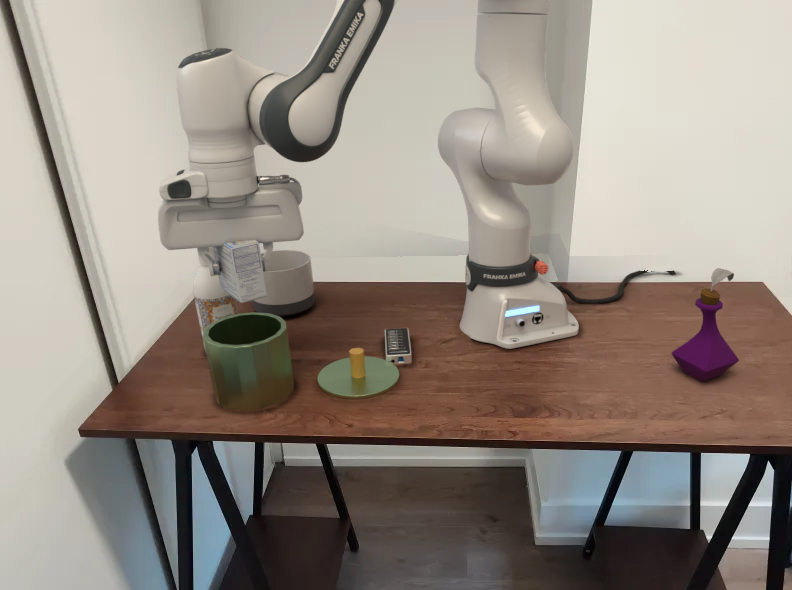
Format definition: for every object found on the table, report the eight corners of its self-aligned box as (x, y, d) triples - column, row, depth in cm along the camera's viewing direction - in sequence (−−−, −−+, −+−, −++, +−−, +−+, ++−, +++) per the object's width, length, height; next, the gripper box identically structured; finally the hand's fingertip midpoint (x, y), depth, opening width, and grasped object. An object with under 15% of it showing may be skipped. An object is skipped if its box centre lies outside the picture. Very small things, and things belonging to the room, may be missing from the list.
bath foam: (212, 362, 122) (191, 254, 112) (200, 348, 127) (178, 244, 117) (249, 352, 125) (232, 246, 115) (236, 338, 130) (218, 236, 120)
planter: (284, 292, 150) (278, 246, 145) (328, 304, 143) (323, 256, 138) (240, 312, 141) (232, 264, 136) (284, 326, 134) (277, 276, 129)
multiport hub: (408, 338, 128) (408, 327, 127) (412, 366, 119) (411, 354, 117) (385, 339, 128) (384, 328, 127) (386, 367, 118) (385, 355, 117)
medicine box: (268, 297, 102) (260, 241, 98) (239, 304, 100) (230, 247, 96) (247, 282, 108) (238, 228, 104) (220, 289, 106) (210, 234, 102)
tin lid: (393, 358, 121) (391, 329, 118) (405, 397, 110) (404, 365, 107) (316, 366, 119) (312, 337, 116) (320, 406, 108) (316, 375, 105)
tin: (293, 370, 118) (285, 309, 113) (295, 407, 108) (286, 342, 102) (219, 378, 117) (207, 316, 111) (213, 417, 106) (199, 350, 100)
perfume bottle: (702, 389, 109) (724, 283, 100) (667, 370, 115) (685, 267, 106) (735, 377, 112) (760, 273, 103) (699, 359, 118) (719, 259, 109)
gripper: (299, 169, 100) (309, 259, 107) (154, 178, 97) (173, 270, 104) (300, 178, 94) (310, 273, 101) (146, 188, 92) (167, 285, 98)
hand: (240, 272), depth 103 cm, fingers closed on medicine box, 6 cm apart
